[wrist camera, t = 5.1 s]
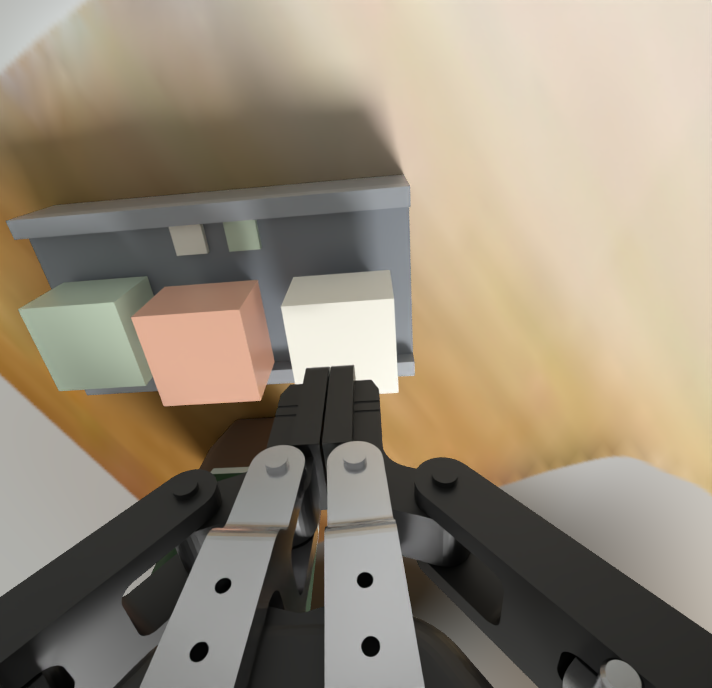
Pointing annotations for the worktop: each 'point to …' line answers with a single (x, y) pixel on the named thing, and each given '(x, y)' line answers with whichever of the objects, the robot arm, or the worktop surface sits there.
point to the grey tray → (236, 245)
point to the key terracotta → (206, 343)
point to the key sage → (91, 333)
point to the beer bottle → (238, 462)
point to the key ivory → (343, 325)
